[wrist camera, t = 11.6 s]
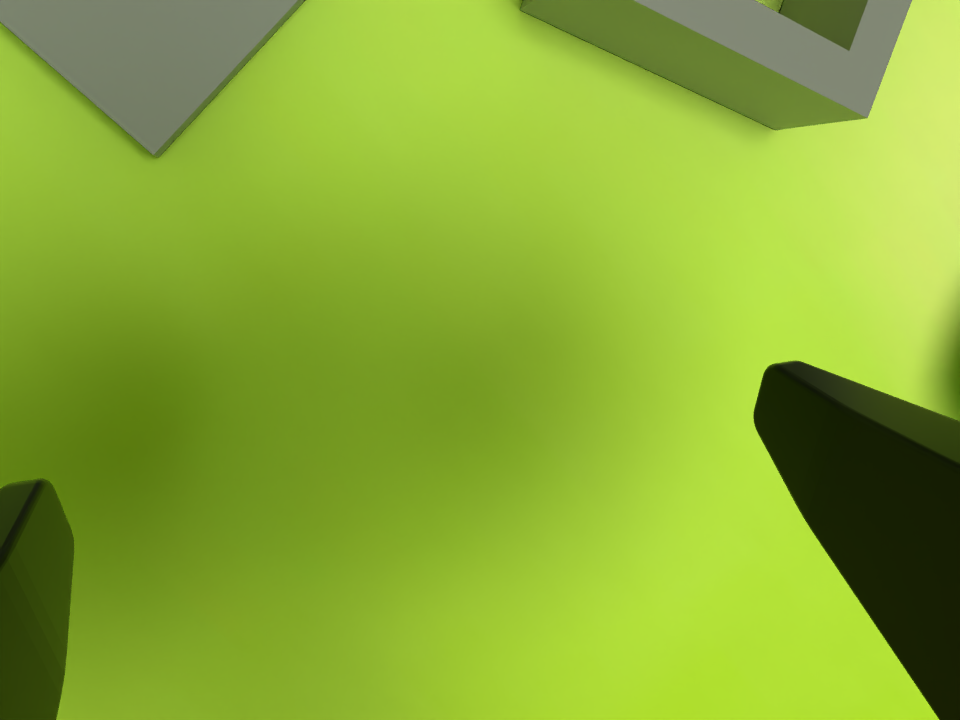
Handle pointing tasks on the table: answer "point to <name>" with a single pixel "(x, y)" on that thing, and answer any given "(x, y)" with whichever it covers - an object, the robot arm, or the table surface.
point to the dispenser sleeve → (749, 50)
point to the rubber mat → (147, 53)
